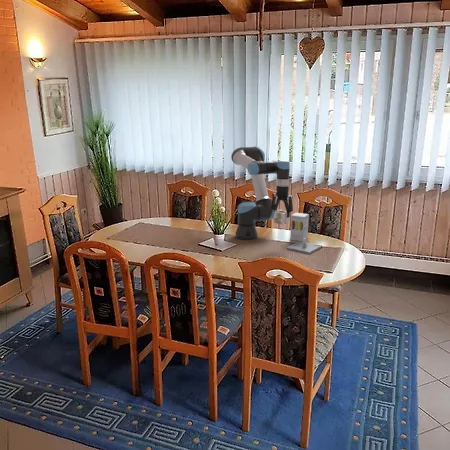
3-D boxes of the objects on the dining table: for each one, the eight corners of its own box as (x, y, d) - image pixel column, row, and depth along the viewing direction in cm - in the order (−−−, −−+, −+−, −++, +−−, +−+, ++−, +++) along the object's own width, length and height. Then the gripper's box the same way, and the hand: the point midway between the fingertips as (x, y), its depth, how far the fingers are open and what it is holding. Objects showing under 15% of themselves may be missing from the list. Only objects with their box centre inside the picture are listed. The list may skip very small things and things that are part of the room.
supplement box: (289, 239, 307) (290, 215, 303) (294, 236, 315) (295, 212, 310) (303, 241, 303) (304, 216, 298) (308, 238, 311) (309, 213, 306)
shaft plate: (286, 249, 288) (286, 239, 286) (299, 242, 301) (300, 233, 299) (309, 254, 278) (310, 244, 277) (322, 247, 291) (322, 237, 290)
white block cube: (273, 222, 290) (274, 211, 288) (279, 220, 296) (279, 209, 294) (283, 224, 286) (283, 213, 284) (289, 222, 292) (289, 210, 290)
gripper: (265, 184, 287) (264, 219, 294) (293, 188, 276) (292, 225, 282) (272, 182, 293) (271, 217, 299) (299, 186, 281) (298, 222, 288)
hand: (281, 221), depth 291 cm, fingers closed on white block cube, 7 cm apart
